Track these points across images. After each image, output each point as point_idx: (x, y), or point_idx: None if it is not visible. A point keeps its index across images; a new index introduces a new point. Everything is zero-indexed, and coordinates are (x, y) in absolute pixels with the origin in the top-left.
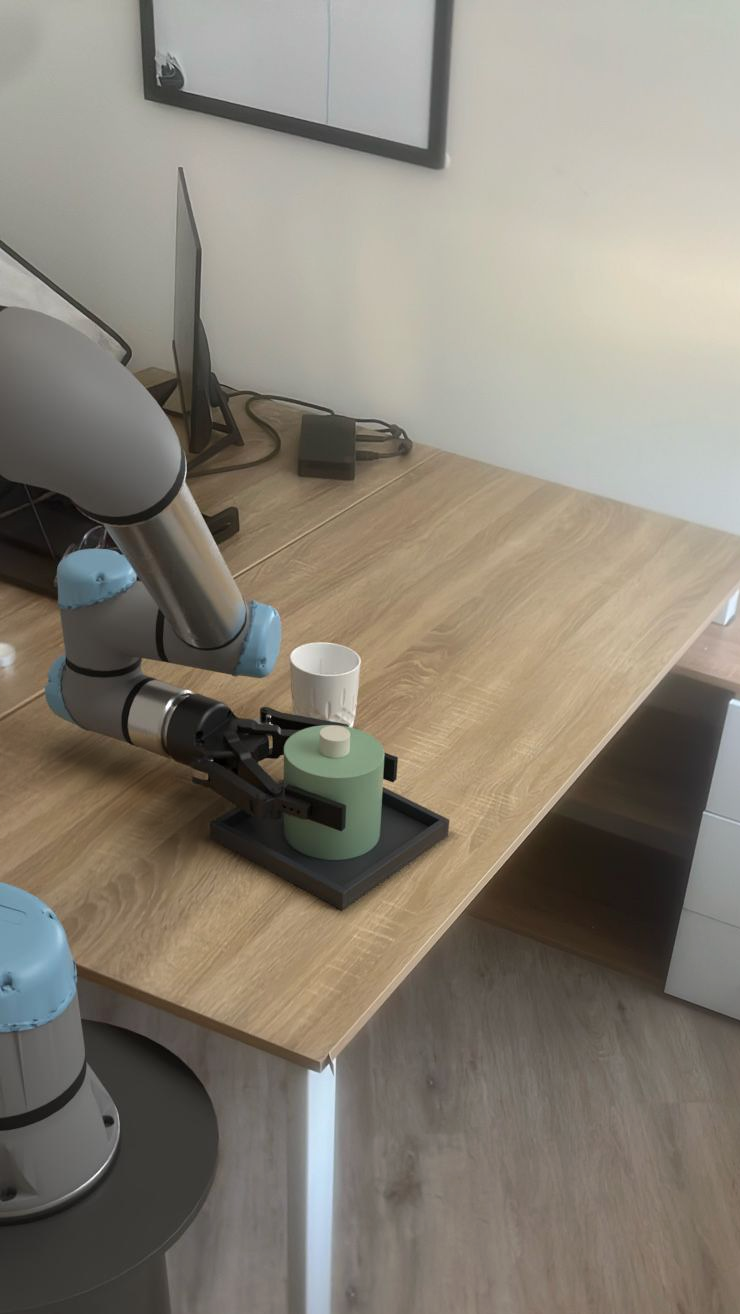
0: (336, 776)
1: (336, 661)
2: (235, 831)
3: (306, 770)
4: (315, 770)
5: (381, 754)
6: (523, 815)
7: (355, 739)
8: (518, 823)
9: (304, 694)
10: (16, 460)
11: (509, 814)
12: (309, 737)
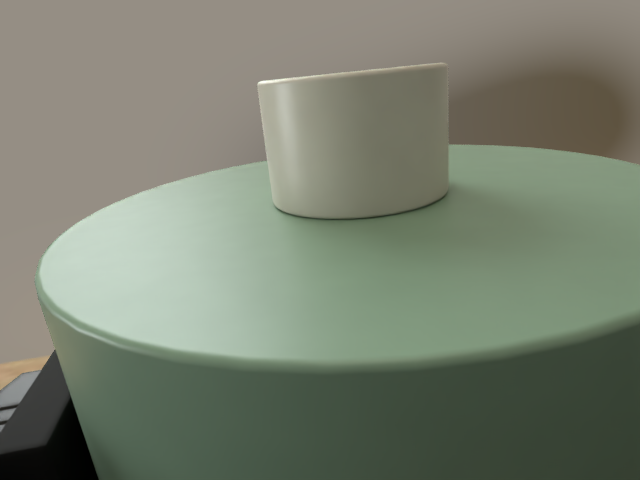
0: (496, 146)
1: None
2: None
3: (619, 161)
4: (568, 158)
5: (238, 167)
6: (7, 367)
7: (185, 206)
8: (45, 359)
9: None
10: None
11: (10, 380)
12: (376, 271)
